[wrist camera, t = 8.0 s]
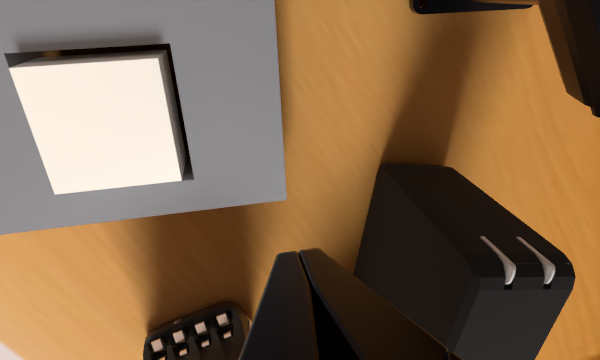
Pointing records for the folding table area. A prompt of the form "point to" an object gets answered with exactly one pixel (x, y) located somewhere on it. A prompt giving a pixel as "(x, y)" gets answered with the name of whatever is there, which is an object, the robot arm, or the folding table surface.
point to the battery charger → (200, 335)
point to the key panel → (193, 97)
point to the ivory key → (103, 119)
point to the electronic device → (461, 264)
